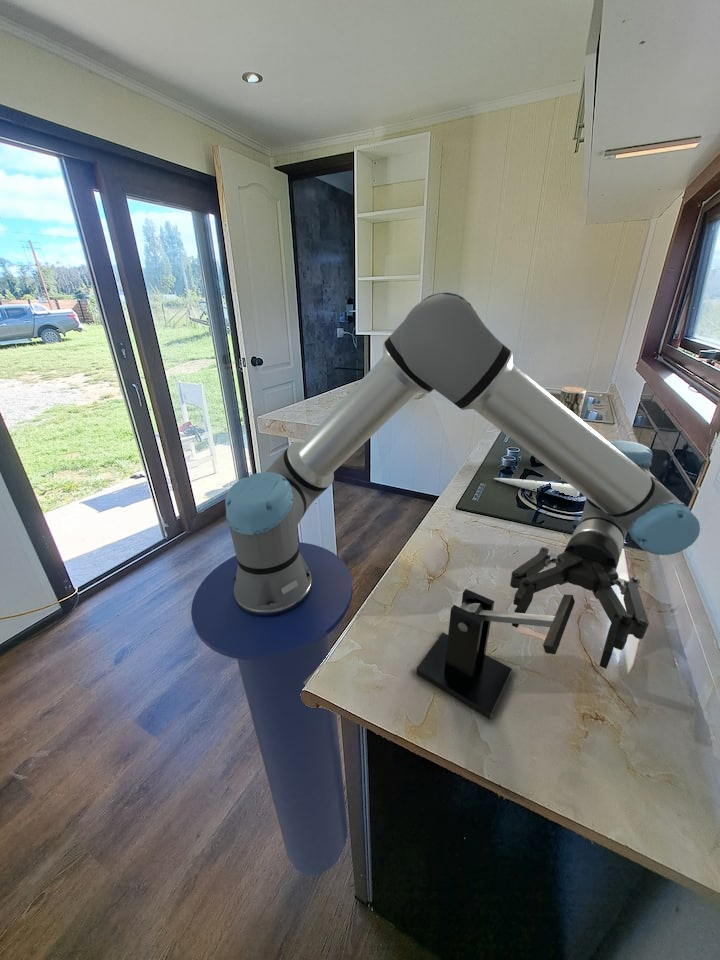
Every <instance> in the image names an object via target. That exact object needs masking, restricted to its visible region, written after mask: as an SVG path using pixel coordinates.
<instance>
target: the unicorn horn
mask: <svg viewBox="0 0 720 960" xmlns="http://www.w3.org/2000/svg"><path fill="white" fill-rule="evenodd" d="M493 480H495V481H498V482H501V483H504V484H507V485H511V486H515V487H517V488H521V489H525V490H528V491H532V492H536V493H538V492H537V490H533V489H537V488H539V487H540V486H543V485H546V484H549V483H550V484H551V488H552V489H553V490H556V491H559V492H560V493H564V494H565V495H570V496H573V497H577V496H579V497H580V494H581V493H580V492H579V491H577V490H576V489H575V488H574V487H572V486H571V485H570V484H569V483H561V482H552V481H543V480H542V481H541V480H532V479H522V478H521V479H520V478H507V477H494V478H493Z"/></svg>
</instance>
